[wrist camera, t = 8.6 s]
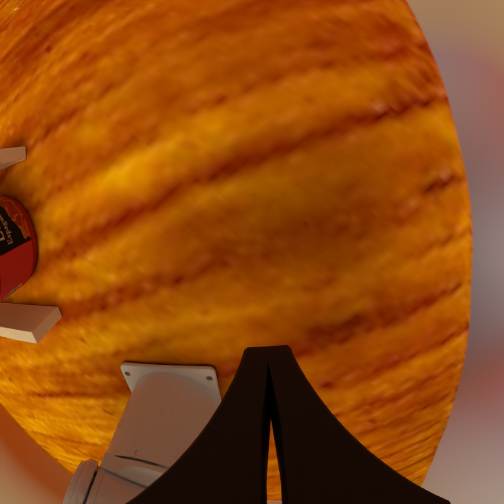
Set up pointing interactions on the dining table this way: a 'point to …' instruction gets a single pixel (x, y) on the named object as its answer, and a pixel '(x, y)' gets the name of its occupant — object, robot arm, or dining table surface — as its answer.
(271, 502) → the honey pot
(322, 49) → the dining table surface
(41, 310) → the shelf bay
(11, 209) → the canned food
